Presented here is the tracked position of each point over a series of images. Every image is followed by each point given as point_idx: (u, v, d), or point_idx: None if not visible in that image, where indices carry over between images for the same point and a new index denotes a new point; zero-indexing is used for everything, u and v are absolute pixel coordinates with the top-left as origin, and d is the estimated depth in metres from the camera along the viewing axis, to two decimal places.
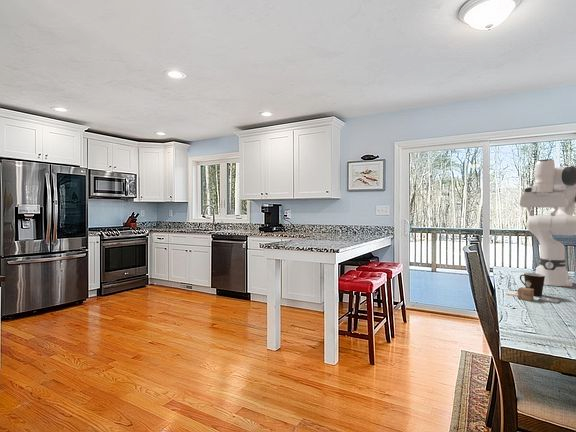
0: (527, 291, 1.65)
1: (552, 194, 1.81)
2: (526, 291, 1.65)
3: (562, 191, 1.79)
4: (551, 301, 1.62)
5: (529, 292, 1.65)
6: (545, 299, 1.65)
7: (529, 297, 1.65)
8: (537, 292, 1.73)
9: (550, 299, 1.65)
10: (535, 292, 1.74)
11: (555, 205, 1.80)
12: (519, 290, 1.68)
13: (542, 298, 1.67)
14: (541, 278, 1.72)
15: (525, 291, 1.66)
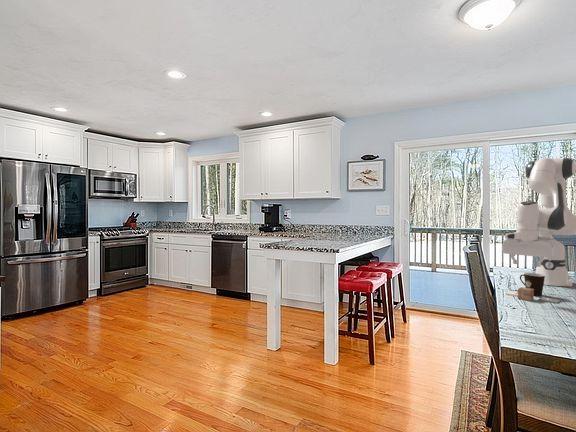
0: (527, 291, 1.65)
1: (536, 242, 1.63)
2: (526, 291, 1.65)
3: (548, 239, 1.61)
4: (551, 301, 1.62)
5: (529, 292, 1.65)
6: (545, 299, 1.65)
7: (529, 297, 1.65)
8: (537, 292, 1.73)
9: (550, 299, 1.65)
10: (535, 292, 1.74)
11: (540, 255, 1.62)
12: (519, 290, 1.67)
13: (542, 298, 1.67)
14: (541, 278, 1.72)
15: (525, 291, 1.66)
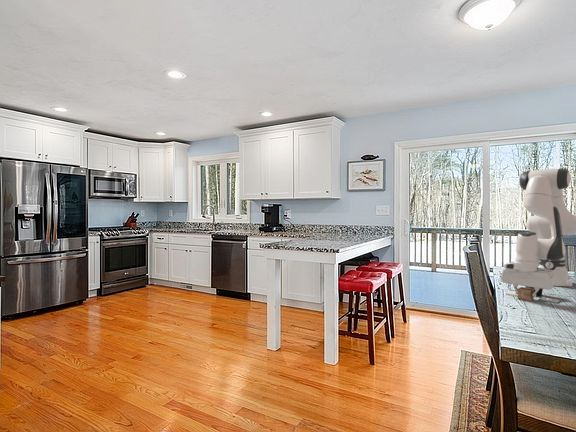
0: (527, 291, 1.65)
1: (536, 273, 1.63)
2: (526, 291, 1.65)
3: (547, 271, 1.61)
4: (551, 301, 1.62)
5: (529, 292, 1.64)
6: (545, 299, 1.65)
7: (529, 297, 1.65)
8: (537, 292, 1.73)
9: (550, 299, 1.65)
10: None
11: (539, 286, 1.62)
12: (519, 290, 1.67)
13: (542, 298, 1.67)
14: None
15: (525, 291, 1.66)
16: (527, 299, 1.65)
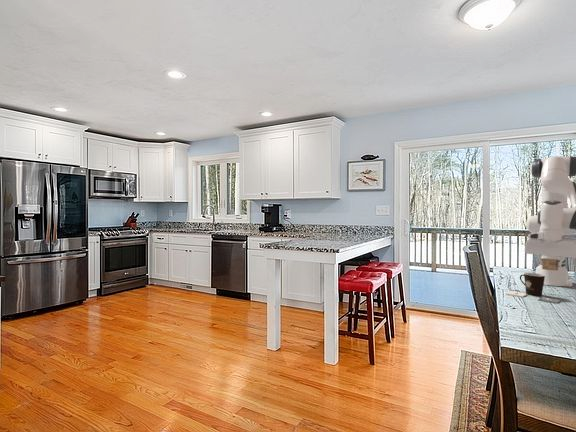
0: (552, 260, 1.62)
1: (561, 242, 1.60)
2: (551, 261, 1.62)
3: (573, 239, 1.58)
4: (551, 301, 1.62)
5: (554, 261, 1.62)
6: (545, 299, 1.65)
7: (554, 266, 1.61)
8: (537, 292, 1.73)
9: (550, 299, 1.65)
10: (535, 292, 1.74)
11: (565, 255, 1.59)
12: (544, 260, 1.65)
13: (542, 298, 1.67)
14: (541, 278, 1.72)
15: (550, 260, 1.63)
16: (552, 269, 1.62)
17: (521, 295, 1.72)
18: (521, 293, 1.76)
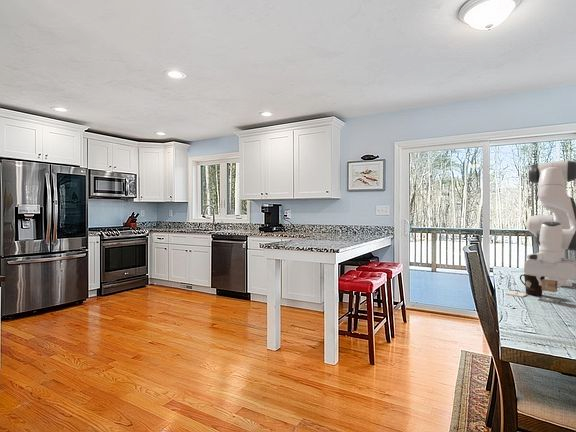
0: (551, 282, 1.62)
1: (560, 264, 1.60)
2: (551, 282, 1.63)
3: (572, 261, 1.58)
4: (551, 301, 1.62)
5: (554, 283, 1.62)
6: (545, 299, 1.65)
7: (553, 288, 1.62)
8: (537, 292, 1.73)
9: (550, 299, 1.65)
10: (535, 292, 1.74)
11: (564, 277, 1.59)
12: (543, 281, 1.65)
13: (542, 298, 1.67)
14: (541, 278, 1.72)
15: (549, 282, 1.63)
16: (551, 290, 1.62)
17: (521, 295, 1.72)
18: (521, 293, 1.76)
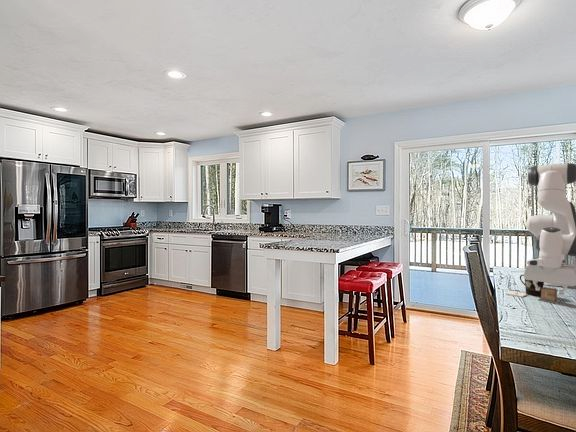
0: (551, 291, 1.62)
1: (560, 270, 1.61)
2: (550, 291, 1.63)
3: (572, 267, 1.58)
4: (551, 301, 1.62)
5: (553, 292, 1.62)
6: None
7: (553, 297, 1.62)
8: (537, 292, 1.73)
9: None
10: (535, 292, 1.74)
11: (564, 283, 1.60)
12: (542, 290, 1.65)
13: None
14: None
15: (549, 291, 1.63)
16: (551, 299, 1.62)
17: (521, 295, 1.72)
18: (521, 293, 1.76)
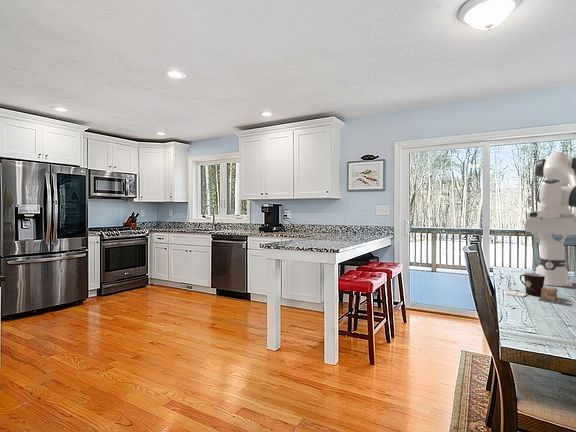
0: (551, 291, 1.62)
1: (560, 220, 1.65)
2: (550, 291, 1.63)
3: (571, 216, 1.63)
4: (551, 301, 1.62)
5: (553, 292, 1.62)
6: None
7: (553, 297, 1.62)
8: (537, 292, 1.73)
9: None
10: (535, 292, 1.74)
11: (564, 232, 1.64)
12: (542, 290, 1.65)
13: None
14: (541, 278, 1.72)
15: (549, 291, 1.63)
16: (551, 299, 1.62)
17: (521, 295, 1.72)
18: (521, 293, 1.76)
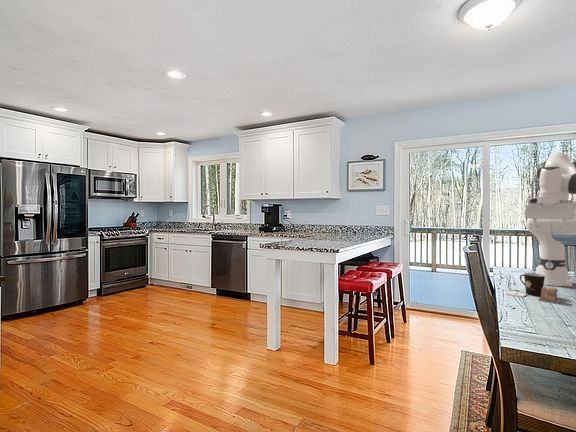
0: (551, 291, 1.62)
1: (559, 205, 1.68)
2: (550, 291, 1.63)
3: (570, 202, 1.66)
4: (551, 301, 1.62)
5: (553, 292, 1.62)
6: None
7: (553, 297, 1.62)
8: (537, 292, 1.73)
9: None
10: (535, 292, 1.74)
11: (563, 217, 1.67)
12: (542, 290, 1.65)
13: None
14: (541, 278, 1.72)
15: (549, 291, 1.63)
16: (551, 299, 1.62)
17: (521, 295, 1.72)
18: (521, 293, 1.76)
